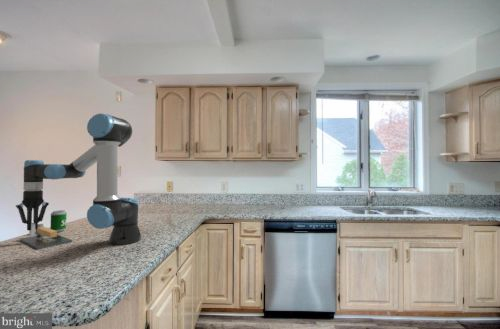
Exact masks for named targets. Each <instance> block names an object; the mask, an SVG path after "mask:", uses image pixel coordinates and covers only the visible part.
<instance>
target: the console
mask: <svg viewBox="0 0 500 329" xmlns="http://www.w3.org/2000/svg"><path fill="white" fill-rule="evenodd" d="M19 241H20V242H22V243H24V244H26V245H28V246H30V247H32V248H34V249H36V250H42V249H45V248H46V249H47V248H50V247H51V248H52V247H55V245H56V246H59V245H63V244H69V243H72V242H73V239H70V238H68V237H65V236H62V235H60V234H57V237H52V238H50V237H47V236H45V235H42V234H40V233H36V235H35V236H34V237H30V236H28V237H22V238H21V237H20V238H19Z"/></svg>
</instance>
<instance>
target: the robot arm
mask: <svg viewBox="0 0 500 329" xmlns="http://www.w3.org/2000/svg"><path fill="white" fill-rule="evenodd" d="M86 130H87V133H89V134H88V135H90V136H91V137H92V144H94V145H92V147H90V148H88V150H86V151H85V152H84V153H82V154H81V155H79V157H77V158H76V159H75V160H73V161H72V162H71V163H69V164H57V163H56V164H55V163H54V164H53V163H50V164H49V163H46V164H44V161H43V160H42V159H41V160H40V159H39V160H37V159H35V160H34V159H28V160H25V161H24V164H23V165H24V166H23V188H22V189H23V191H22V192H23V193H22V201H21V203H19V204H15V207H16V209H17V210H18V213H19V216H20V221H21V223H23V224H25V225H26V230H27V232H28V233H29V236H28V237H34V236H36V233H35V229H37V228H38V224H40V223H39V222H42V221H43V220H44V216H45V213H46V211H47V210H46V209H47V207H48V206H49V204H50V202H47V201H45V200H44V197H43V196H44V191H43V189H44V180H61V179H78V178H80V179H81V178H82V177H84V176H85V174H86V171H87V170H88V169H90V168H91V167H92V166H94V165H95V164H96V196H95V197H94V198H93V199H92V205H91V206H90V207H89V209H87V212H86V218H87V221H88V223H89V224H90V225H91V226H92V227H93V228H95V229H99V230H102V229H107V228H111V227H112V231H111V232H110V236H109V238H108V239H109V241H108V242H109V244H111V245H117V246H118V245H119V246H120V245H121V246H122V245H131V244H135V243H137V242H139V241H141V240H142V233H141V231H140V228H139V224H138V223H139V205H140V204H139V200H138V198H136V197H120V196H119V195H118V148H120V147H122V146H123V145H125V144H126V143H127V142H128V141H129V140H130V139H131V137H132V135H133V127H132V125H131V123H130V122H129V121H127V120H126V119H123V118H120V117H117V116H113V115H110V114H106V113H96V114H94V115H93V116H92V117H91V118H90V119H89V120H88V122H87V126H86ZM41 205H42V206H41ZM40 206H41V208H40ZM24 207H25V208H26V214H25V210H24ZM39 208H40V211H39ZM32 219H33V220H32ZM32 221H33V222H32Z"/></svg>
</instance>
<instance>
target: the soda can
mask: <svg viewBox="0 0 500 329" xmlns="http://www.w3.org/2000/svg"><path fill="white" fill-rule="evenodd" d="M67 215H68V214H67V211H66V210H54V211H52V212H51V213H50V228H49V229H52V230H55V231H57V233H62V232H64V231H65V230H67Z"/></svg>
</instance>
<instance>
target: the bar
mask: <svg viewBox="0 0 500 329" xmlns="http://www.w3.org/2000/svg"><path fill="white" fill-rule="evenodd" d="M37 233H40V234H42V235H45V236H47V237H50V238H52V237H57V235H58V232H57V231H55V230H52V229H50V228H49V227H46V226H44V223H38V228H37V229H35V234H37Z"/></svg>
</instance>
